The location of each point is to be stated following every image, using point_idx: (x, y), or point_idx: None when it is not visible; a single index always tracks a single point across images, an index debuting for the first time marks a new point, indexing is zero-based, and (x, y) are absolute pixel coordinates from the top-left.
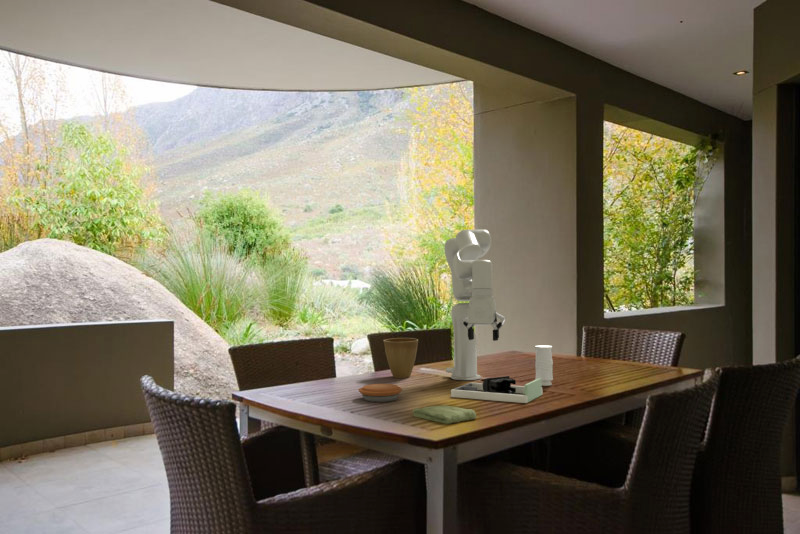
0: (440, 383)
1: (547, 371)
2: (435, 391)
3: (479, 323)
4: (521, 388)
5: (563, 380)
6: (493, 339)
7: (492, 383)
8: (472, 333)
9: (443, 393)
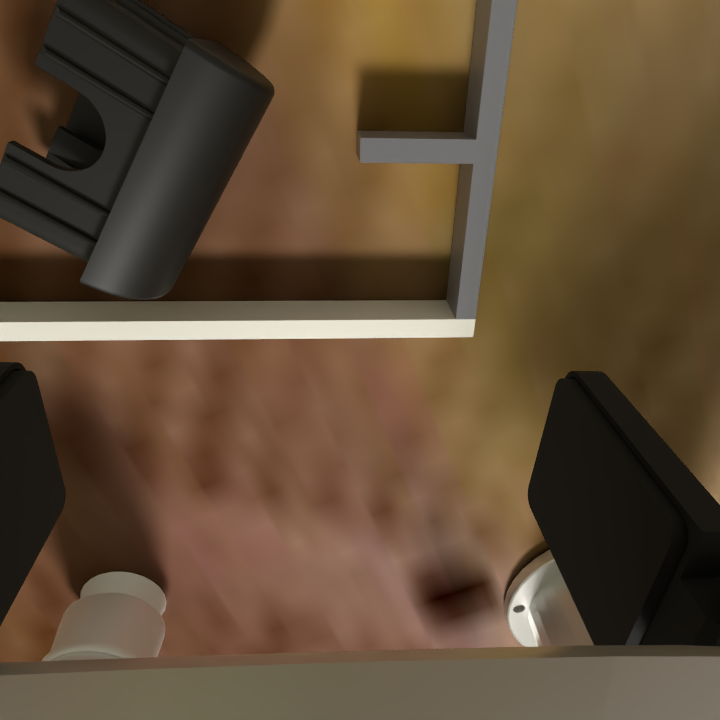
0: (702, 418)
1: (51, 651)
2: (691, 119)
3: (323, 668)
4: (61, 315)
5: None
6: (3, 370)
7: (125, 7)
8: (584, 538)
9: (612, 56)
